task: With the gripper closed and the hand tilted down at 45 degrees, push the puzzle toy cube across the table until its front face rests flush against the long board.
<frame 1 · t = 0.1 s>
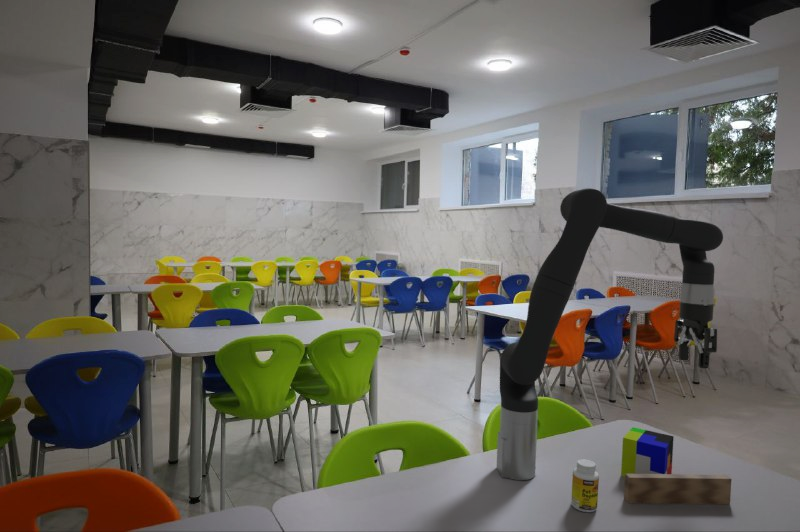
hand: (693, 363, 135), 29 cm above the table, tool pointing down, fingers open, 8 cm apart
puzzle toy: (646, 475, 136), on the table
supplement bottle: (584, 508, 118), on the table
board: (676, 501, 122), on the table
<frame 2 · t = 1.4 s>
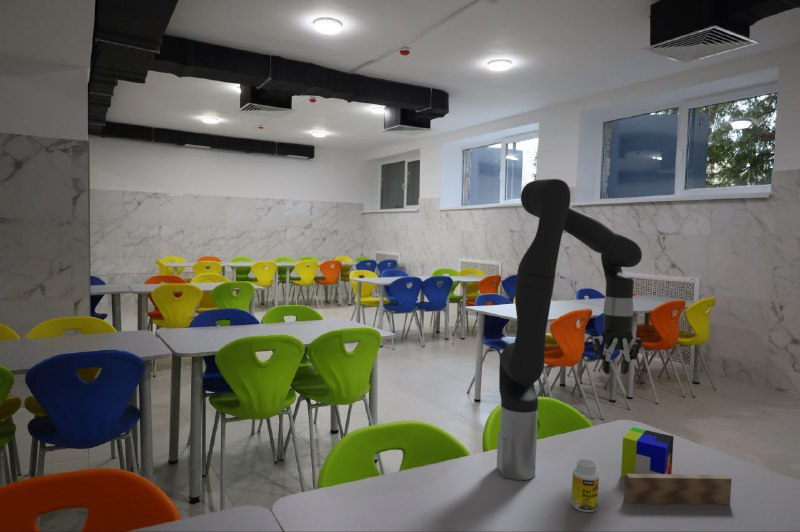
hand: (615, 373, 146), 23 cm above the table, tool pointing down, fingers open, 4 cm apart
nothing on the table moved.
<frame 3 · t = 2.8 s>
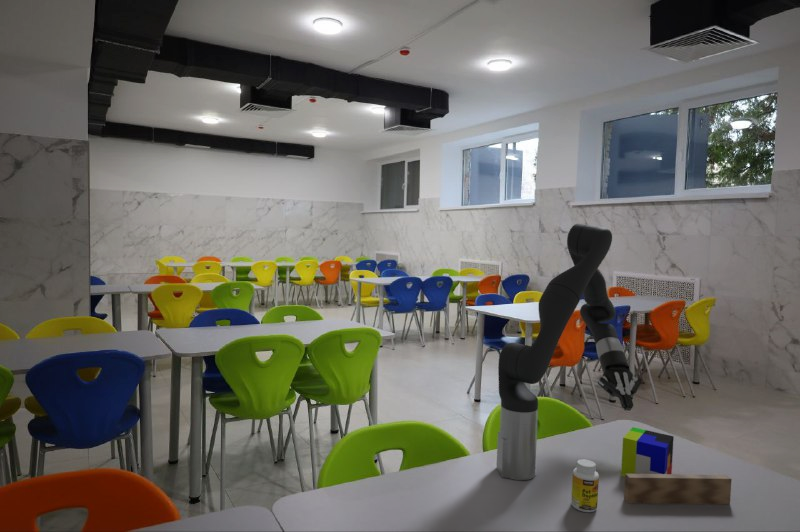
hand: (628, 409, 146), 13 cm above the table, tool tilted 45°, fingers closed
nothing on the table moved.
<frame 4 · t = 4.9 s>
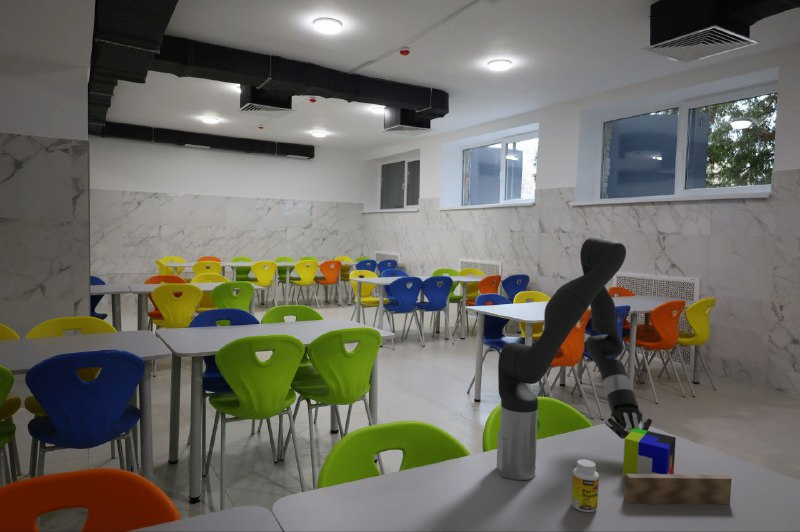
hand: (638, 453, 140), 4 cm above the table, tool tilted 45°, fingers closed
puzzle toy: (648, 476, 135), on the table, touching gripper
everything else where it was.
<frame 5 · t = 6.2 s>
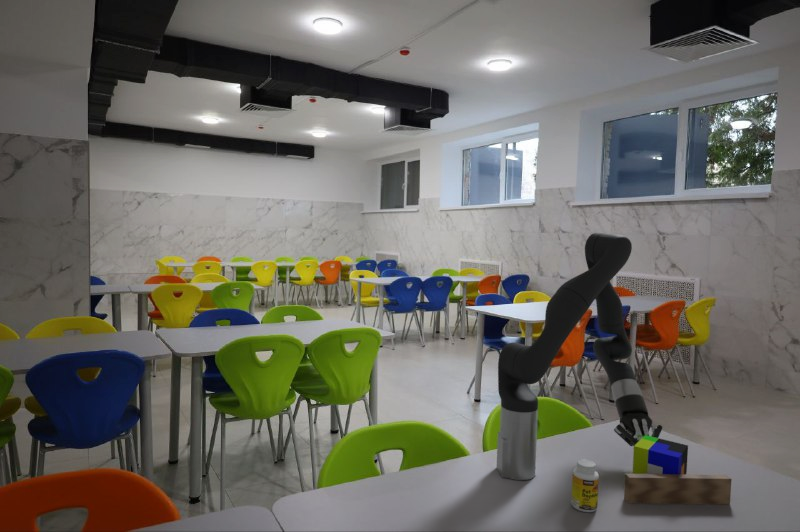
hand: (648, 461, 135), 4 cm above the table, tool tilted 45°, fingers closed
puzzle toy: (658, 486, 130), on the table, touching board, gripper
everything else where it was.
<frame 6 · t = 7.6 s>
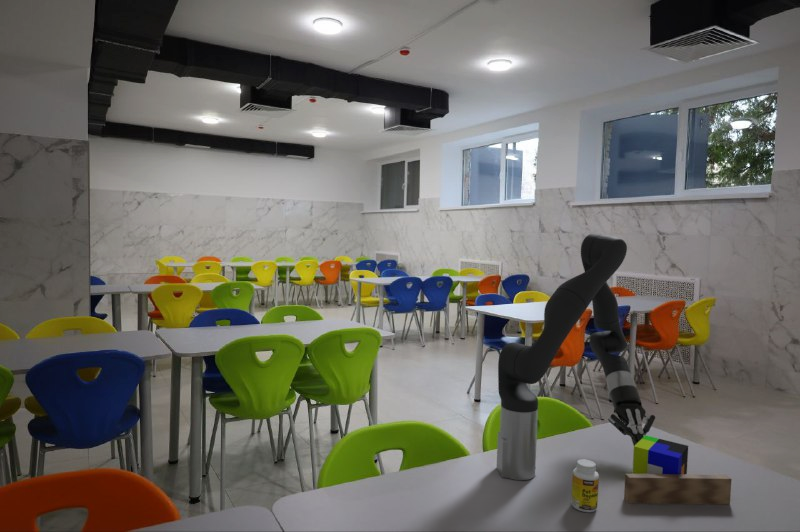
hand: (641, 449, 139), 5 cm above the table, tool tilted 45°, fingers closed
puzzle toy: (659, 486, 130), on the table
everything else where it was.
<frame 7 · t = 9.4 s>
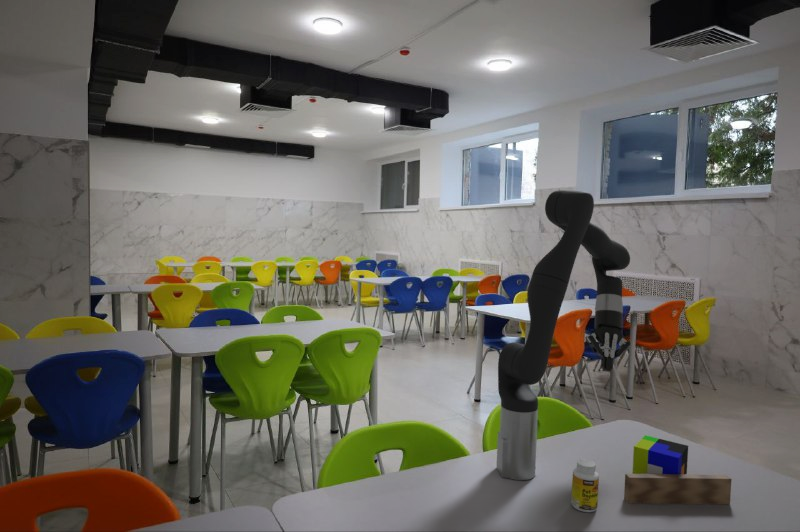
hand: (606, 371, 148), 23 cm above the table, tool tilted 20°, fingers closed
nothing on the table moved.
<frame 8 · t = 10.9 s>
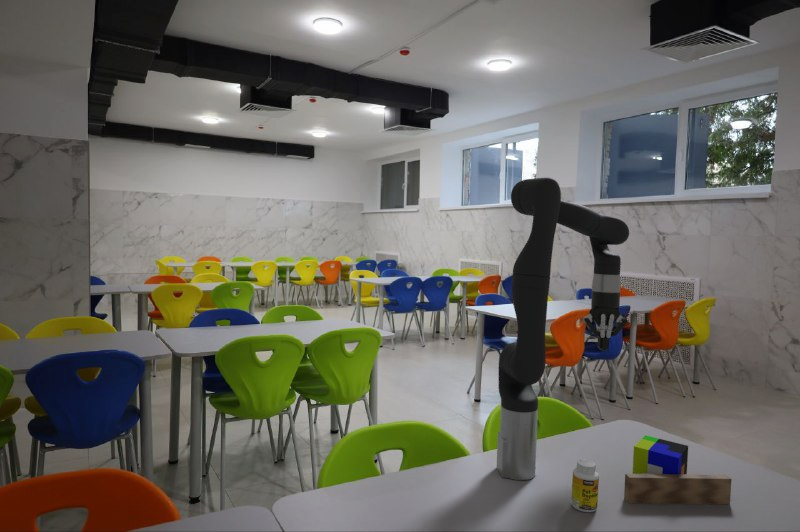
hand: (603, 350, 150), 29 cm above the table, tool pointing down, fingers closed
nothing on the table moved.
at the end: puzzle toy inside the target area on the table beside the board (1.1 cm from its centre), on the table; puzzle toy tilted 0° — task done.
